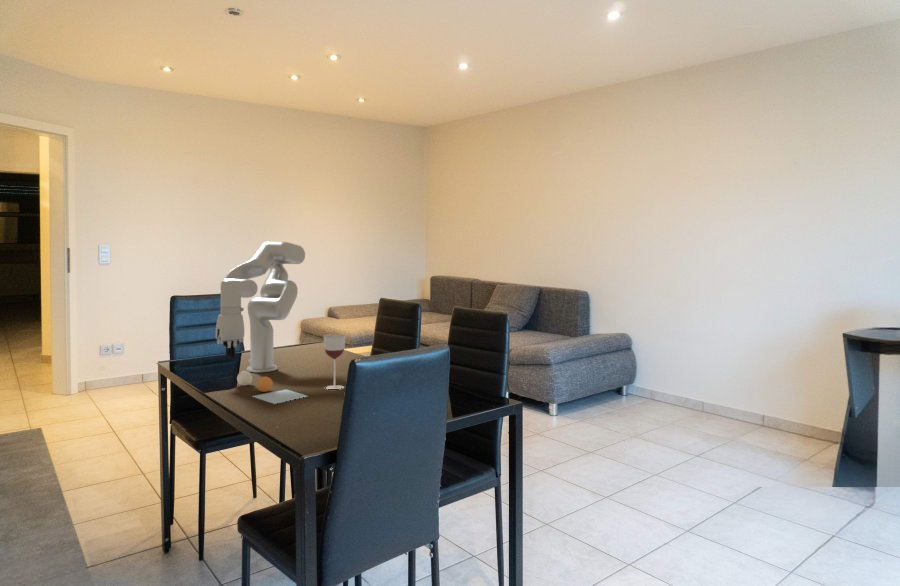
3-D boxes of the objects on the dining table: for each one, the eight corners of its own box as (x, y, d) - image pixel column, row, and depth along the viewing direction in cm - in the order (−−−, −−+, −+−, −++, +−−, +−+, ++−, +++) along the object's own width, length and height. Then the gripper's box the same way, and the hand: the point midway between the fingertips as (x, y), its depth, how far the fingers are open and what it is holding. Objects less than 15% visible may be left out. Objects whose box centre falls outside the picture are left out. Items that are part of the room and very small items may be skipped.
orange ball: (254, 391, 214) (253, 376, 214) (267, 389, 218) (267, 374, 218) (262, 394, 211) (262, 379, 210) (275, 391, 215) (275, 376, 214)
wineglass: (349, 386, 226) (349, 335, 224) (337, 391, 218) (338, 338, 216) (331, 384, 228) (331, 333, 227) (319, 389, 220) (319, 337, 219)
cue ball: (234, 385, 223) (234, 371, 223) (247, 383, 227) (247, 369, 227) (241, 387, 220) (241, 373, 219) (255, 385, 224) (255, 371, 223)
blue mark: (252, 396, 207) (252, 396, 207) (285, 389, 218) (285, 389, 218) (274, 404, 198) (274, 403, 198) (308, 396, 209) (308, 396, 209)
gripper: (243, 309, 235) (242, 354, 236) (207, 311, 224) (207, 358, 225) (253, 311, 230) (252, 356, 231) (217, 312, 219) (217, 360, 220)
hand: (230, 357), depth 228 cm, fingers closed
